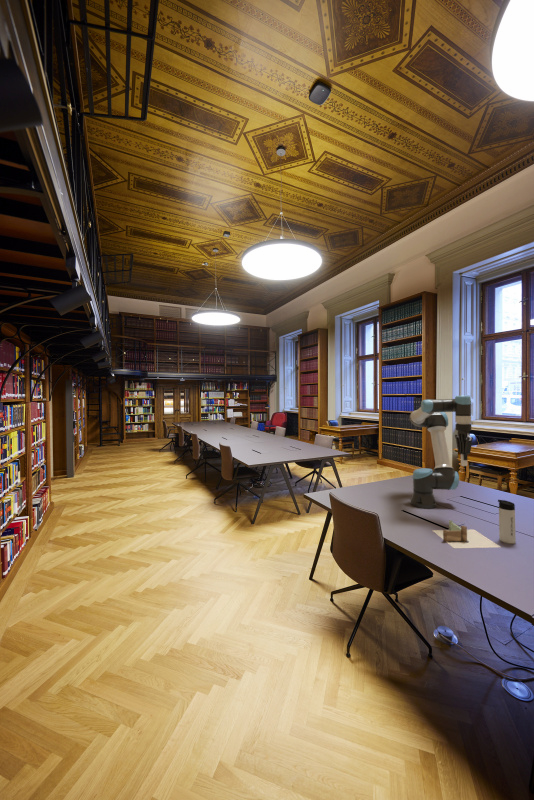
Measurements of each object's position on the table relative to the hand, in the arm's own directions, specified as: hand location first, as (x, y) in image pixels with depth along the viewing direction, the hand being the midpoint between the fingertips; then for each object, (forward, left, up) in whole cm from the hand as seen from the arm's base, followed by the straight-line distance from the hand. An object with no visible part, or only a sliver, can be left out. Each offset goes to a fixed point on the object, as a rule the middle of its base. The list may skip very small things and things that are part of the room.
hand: (464, 465), depth 177 cm
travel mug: (+23, +6, -33) cm, 40 cm away
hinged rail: (+15, -14, -31) cm, 37 cm away
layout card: (+19, -12, -32) cm, 39 cm away
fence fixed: (+22, -18, -32) cm, 43 cm away
